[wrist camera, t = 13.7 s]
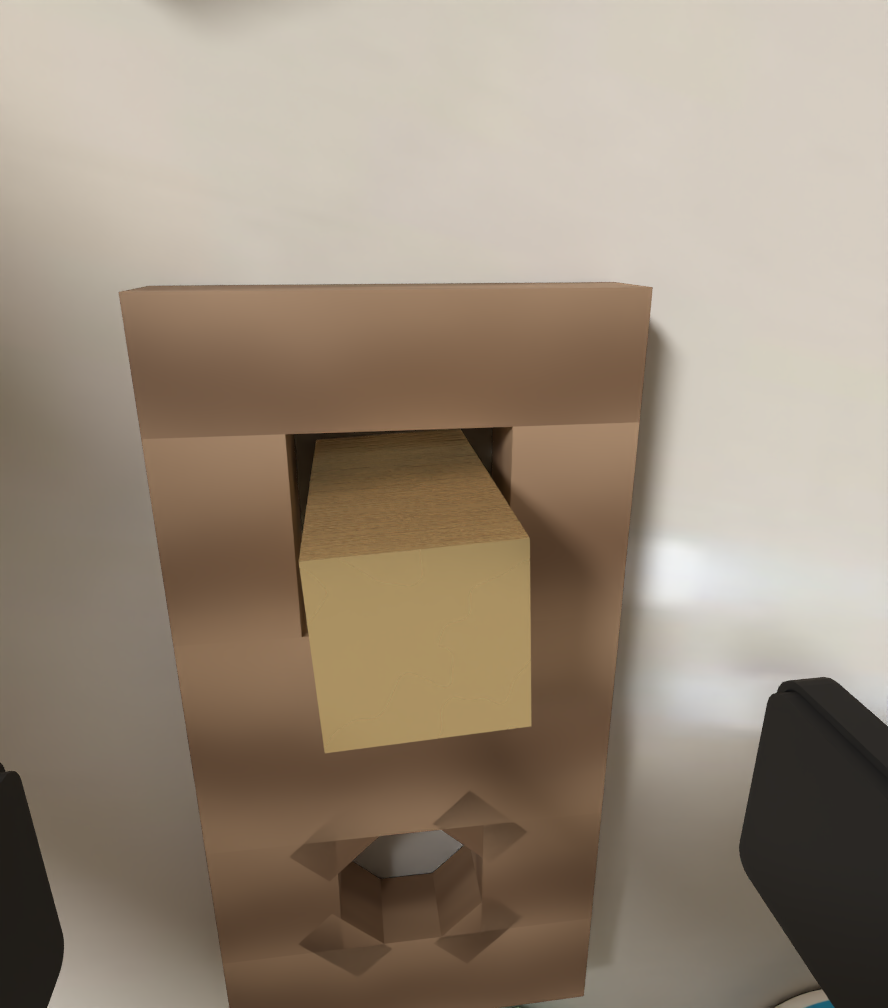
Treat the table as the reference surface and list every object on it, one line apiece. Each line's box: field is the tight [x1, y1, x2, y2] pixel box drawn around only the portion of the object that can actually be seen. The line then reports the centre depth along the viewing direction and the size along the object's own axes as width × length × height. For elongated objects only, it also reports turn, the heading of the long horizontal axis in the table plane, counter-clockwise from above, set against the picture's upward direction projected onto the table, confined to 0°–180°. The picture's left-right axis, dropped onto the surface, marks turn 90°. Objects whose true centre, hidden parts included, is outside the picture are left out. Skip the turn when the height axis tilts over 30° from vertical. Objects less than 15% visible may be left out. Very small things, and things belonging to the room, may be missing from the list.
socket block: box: [119, 282, 653, 1008], centre depth 21 cm, size 24×12×2 cm, turn 0°
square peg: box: [299, 428, 531, 753], centre depth 16 cm, size 4×4×8 cm
